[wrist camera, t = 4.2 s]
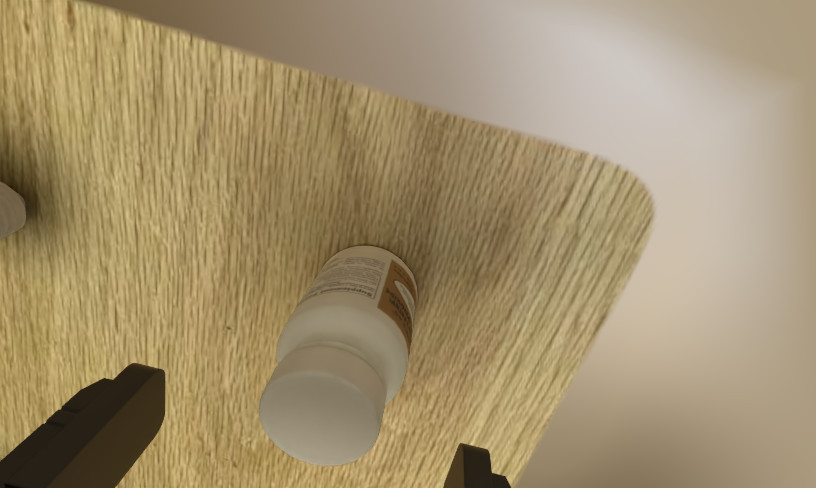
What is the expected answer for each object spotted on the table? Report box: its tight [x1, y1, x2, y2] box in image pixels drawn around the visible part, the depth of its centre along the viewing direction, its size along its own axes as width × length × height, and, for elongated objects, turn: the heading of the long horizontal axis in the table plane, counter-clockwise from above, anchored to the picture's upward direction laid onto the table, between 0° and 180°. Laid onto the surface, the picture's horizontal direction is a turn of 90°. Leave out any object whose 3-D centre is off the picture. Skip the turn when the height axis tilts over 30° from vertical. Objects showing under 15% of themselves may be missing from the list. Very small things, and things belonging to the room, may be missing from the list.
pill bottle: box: [259, 246, 418, 466], centre depth 16 cm, size 4×4×8 cm
